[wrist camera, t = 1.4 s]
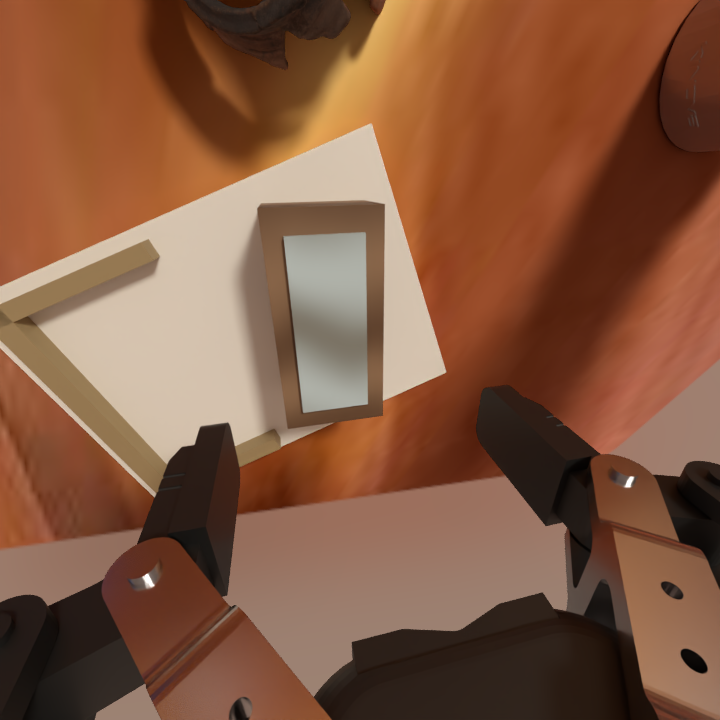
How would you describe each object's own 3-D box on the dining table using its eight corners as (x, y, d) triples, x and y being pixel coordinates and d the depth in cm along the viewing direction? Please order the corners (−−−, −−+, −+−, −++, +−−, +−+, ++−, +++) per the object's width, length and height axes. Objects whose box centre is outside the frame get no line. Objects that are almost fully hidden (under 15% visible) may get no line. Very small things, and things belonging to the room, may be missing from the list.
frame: (261, 203, 20) (256, 208, 15) (363, 200, 21) (386, 204, 16) (285, 389, 25) (287, 432, 21) (366, 379, 26) (384, 418, 22)
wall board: (366, 126, 20) (377, 119, 18) (440, 365, 28) (453, 379, 26) (-27, 299, 20) (-63, 313, 18) (163, 489, 28) (153, 514, 26)
